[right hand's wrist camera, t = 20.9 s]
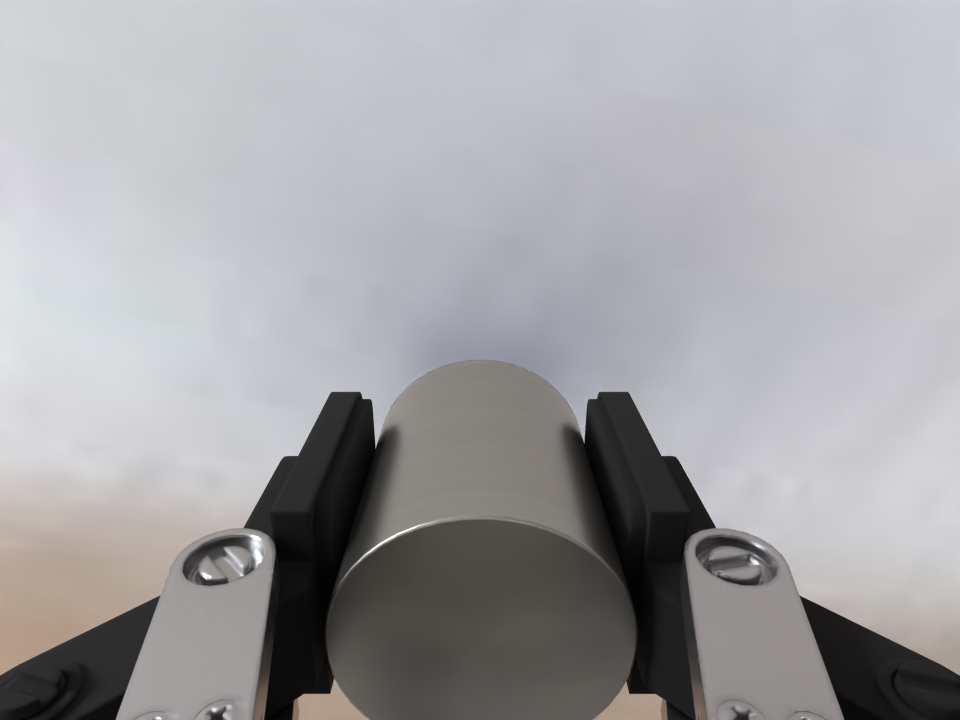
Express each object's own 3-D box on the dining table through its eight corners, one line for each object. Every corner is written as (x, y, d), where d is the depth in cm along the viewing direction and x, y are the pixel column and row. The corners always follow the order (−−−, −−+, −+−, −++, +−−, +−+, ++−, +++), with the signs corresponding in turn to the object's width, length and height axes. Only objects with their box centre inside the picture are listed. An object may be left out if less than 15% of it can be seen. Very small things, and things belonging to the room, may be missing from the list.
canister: (444, 563, 14) (426, 791, 9) (340, 417, 13) (258, 599, 8) (615, 485, 13) (688, 692, 8) (523, 322, 12) (550, 461, 7)
